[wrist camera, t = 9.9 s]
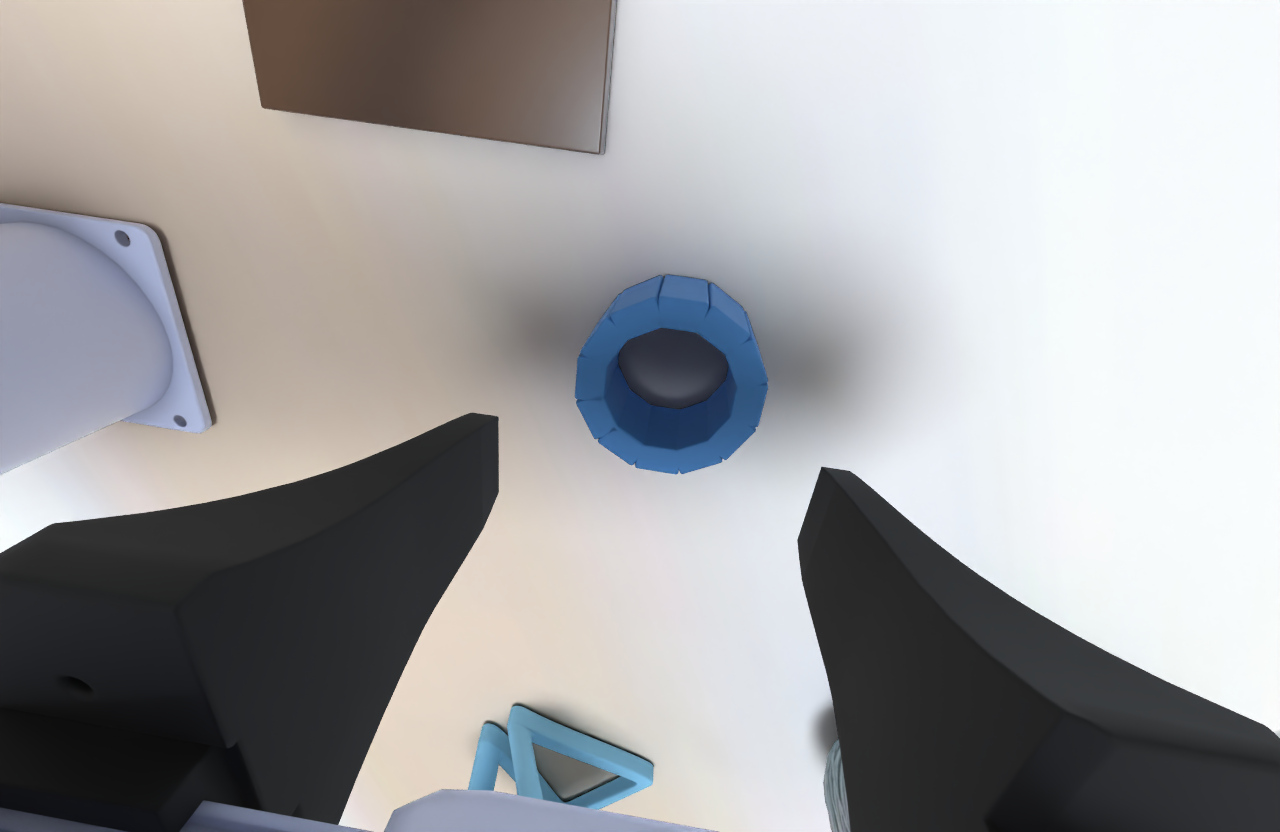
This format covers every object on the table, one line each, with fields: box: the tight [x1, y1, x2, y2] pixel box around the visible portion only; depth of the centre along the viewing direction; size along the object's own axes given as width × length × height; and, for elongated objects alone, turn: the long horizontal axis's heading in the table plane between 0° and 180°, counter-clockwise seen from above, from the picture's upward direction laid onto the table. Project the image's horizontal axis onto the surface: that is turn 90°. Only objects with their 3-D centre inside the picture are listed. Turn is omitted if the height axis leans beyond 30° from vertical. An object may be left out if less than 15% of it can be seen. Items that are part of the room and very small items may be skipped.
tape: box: [575, 275, 768, 474], centre depth 17 cm, size 6×6×3 cm
